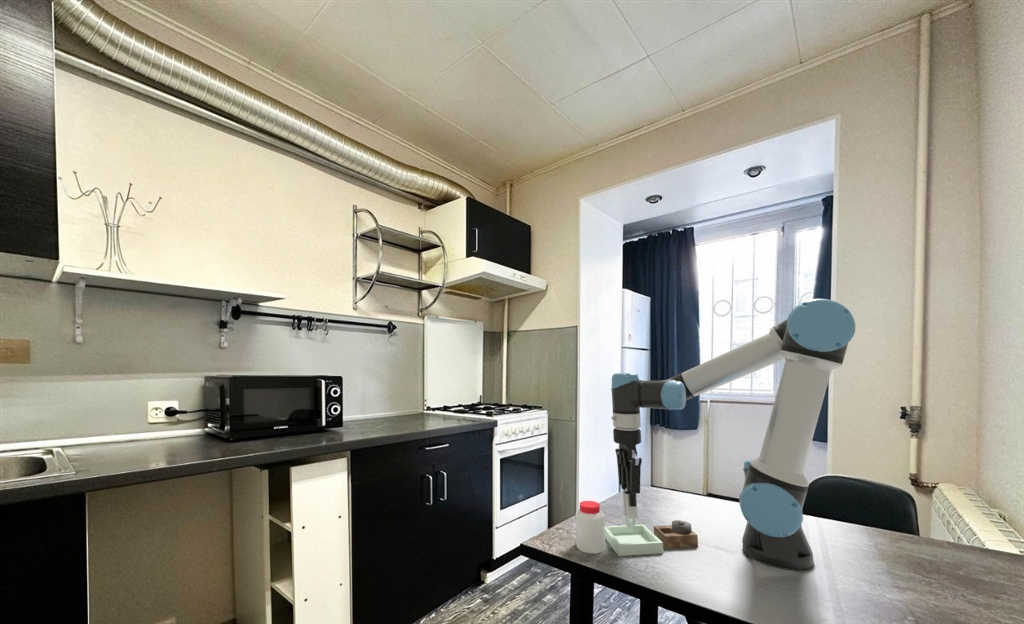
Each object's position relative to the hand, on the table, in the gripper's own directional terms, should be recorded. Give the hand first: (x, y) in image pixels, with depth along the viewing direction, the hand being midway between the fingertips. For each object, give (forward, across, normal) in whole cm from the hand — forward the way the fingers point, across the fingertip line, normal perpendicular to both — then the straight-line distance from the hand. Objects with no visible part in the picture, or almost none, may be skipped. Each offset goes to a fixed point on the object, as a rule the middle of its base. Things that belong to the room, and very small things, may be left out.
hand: (630, 516), depth 110 cm
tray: (+7, 0, 0) cm, 7 cm away
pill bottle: (+7, 0, -11) cm, 14 cm away
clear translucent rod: (+3, 0, 0) cm, 3 cm away
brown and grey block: (+7, 0, +13) cm, 14 cm away
